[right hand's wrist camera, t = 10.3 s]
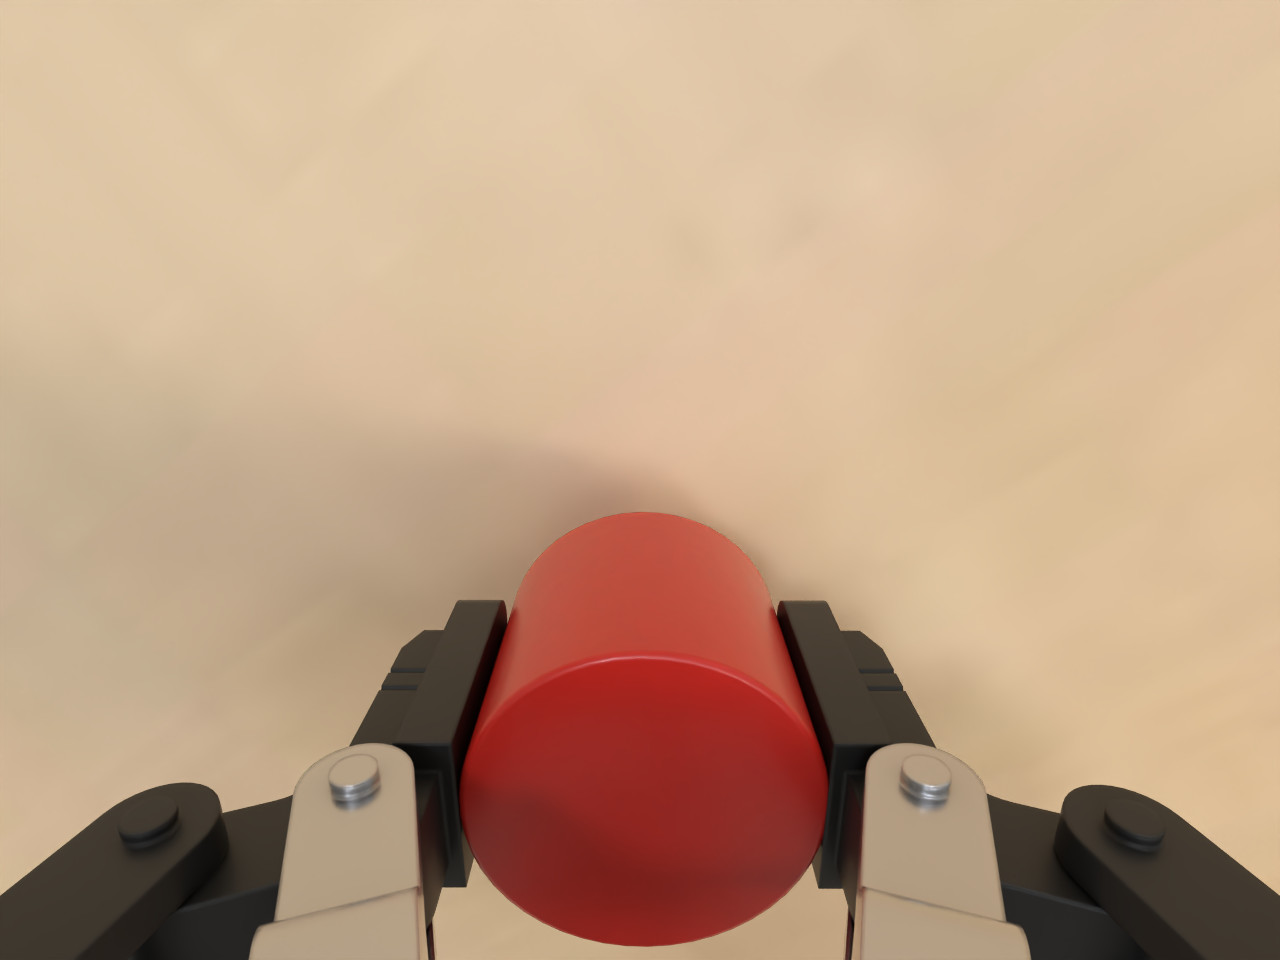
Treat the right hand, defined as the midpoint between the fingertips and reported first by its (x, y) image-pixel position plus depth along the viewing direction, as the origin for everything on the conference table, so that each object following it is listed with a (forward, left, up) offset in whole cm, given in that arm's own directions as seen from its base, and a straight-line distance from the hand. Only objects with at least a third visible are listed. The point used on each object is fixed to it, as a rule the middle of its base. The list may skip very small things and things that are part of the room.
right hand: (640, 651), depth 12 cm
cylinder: (0, 0, -1) cm, 1 cm away
